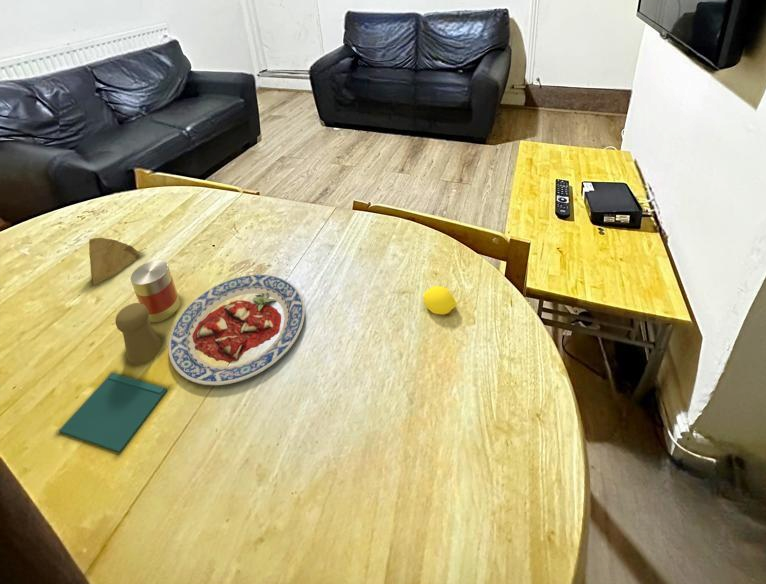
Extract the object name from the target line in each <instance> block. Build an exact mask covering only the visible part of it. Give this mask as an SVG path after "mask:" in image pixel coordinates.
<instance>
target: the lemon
mask: <svg viewBox="0 0 766 584" xmlns="http://www.w3.org/2000/svg"><path fill="white" fill-rule="evenodd" d="M422 297H423V302H424V304H425V307H426V308H427V309H428V310H429V311H430V312H431V313H432V314H435V315H443V316H444V315H447V314H449V313H450V312H451V311H452V310H453V309H455V308H456V307H457V304H458V303H457V301H456V299H455V297H454V296H453V294H452V293H451V291H450V290H449V288H448V289H447V288H446V287H444V286H441V285H434V286H432V287H430V288H428V289H427V290H426V291H425V292H424V293H423V296H422Z"/></svg>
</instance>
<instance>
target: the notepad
mask: <svg viewBox="0 0 766 584" xmlns="http://www.w3.org/2000/svg"><path fill="white" fill-rule="evenodd" d="M167 392H168V388H167V387H164V386H160V385H157V384H153V383H149V382H145V381H142V380H139V379H136V378H131V377H128V376H126V375H125V376H124V375H122V374H118V373H114V372H111V373H110V374H109V375H108V376H107V377H106V378H105V380H104V381H103V382H102V383H101V384H100V385H99V386H98V387H97V388H96V389H95V390H94V392H93V393H92V394H91V395H90V396H89V397H88V398H87V399H86V400H85V402H84V403H83V404H82V405H81V406H80V407H79V408H78V409H77V411H75V412H74V413H73V415H72V416H71V417H70V418H69V419H68V420H67V422H66V423H64V424H63V426H62V427H61V428H60V429H59V430H58V432H59V433H61V434H64V435H66V436H69V437H72V438H74V439H78V440H81V441H82V442H83V441H84V442H87V443H89V444H92V445H96V446H98V447H101V448H104V449H107V450H110V451H113V452H116V453H119V454H120V453H122V451H123V450H124V449H125V448H126V446H127V445H128V443H130V441H131V439H133V437H134V436H135V434H136V433H137V431H138V430H139V429H140V427H141V426H142V425H143V424H144V422H145V421H146V420H147V418H148V417H149V416H150V414H151V413H152V411H153V410H154V409H155V408H156V406H157V405H158V404H159V402H160V401H161V400H162V398H163V397H164V396H165V394H166V393H167Z"/></svg>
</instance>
